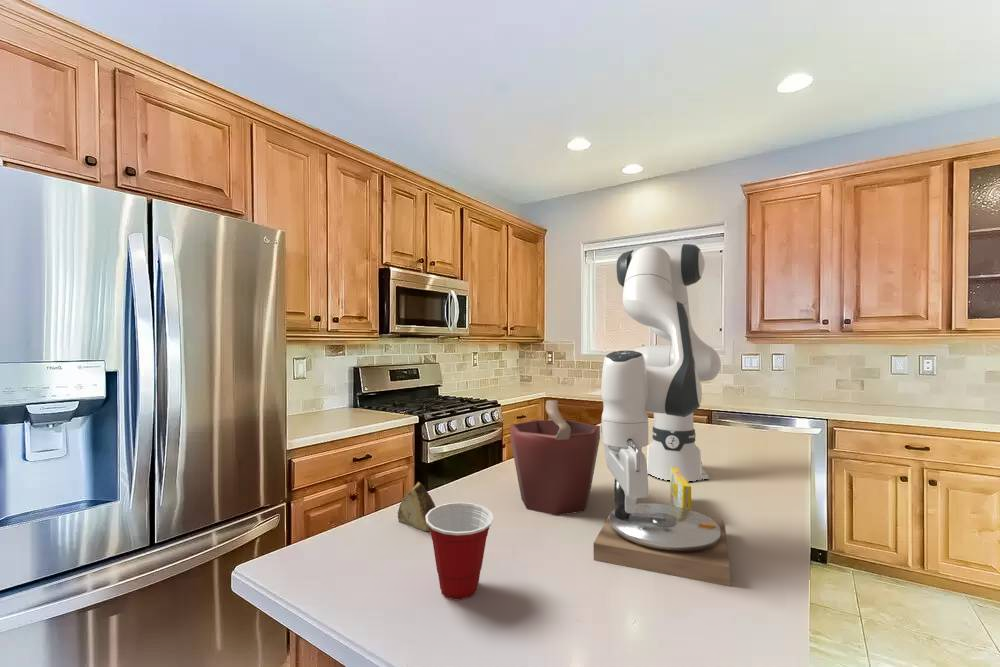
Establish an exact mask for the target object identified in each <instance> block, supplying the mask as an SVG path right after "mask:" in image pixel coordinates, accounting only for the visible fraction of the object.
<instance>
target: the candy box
mask: <svg viewBox="0 0 1000 667" xmlns="http://www.w3.org/2000/svg"><path fill="white" fill-rule="evenodd" d="M669 483H670V484H669V485H670V486H669V488H670V489H669V500H670V502H671V504H672V506H677V507H681V508H686V509H689V510H692V509H691V508H692V486H691V485H690V482H687V481H686V479H685V478H684V477H683V475H682V474H681V472H680V471H679V469H678V468H673V467H671V476H670V481H669Z"/></svg>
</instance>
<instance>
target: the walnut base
mask: <svg viewBox="0 0 1000 667" xmlns="http://www.w3.org/2000/svg"><path fill="white" fill-rule="evenodd" d="M613 510H615V505H614V506H613V508H612V510H611V511H610V513H609V514H608V517H607V519H606V520H605V522H604V523H603V526H602V527H601V529H600V531H599V533H598V534H597V536H596V538H595V540H594V542H593V561H598V562H604V563H609V564H614V565H619V566H624V567H627V568H628V567H629V568H634V569H640V570H644V571H650V572H654V573H659V574H665V575H671V576H675V577H681V578H686V579H689V580H695V581H702V582H707V583H712V584H717V585H722V586H728V587H731V569H730V560H729V557H730V556H729V551H728V550H729V549H728V541H727V532H726V525H725V519H720V518H714V517H710V518H711V519H712V520H714V521H715V522H716V523H717V524H718V525H719V527H720V540H719V542H718V543H717V544H715V545H714V546H712V547H709V548H705V549H700V550H692V551H675V550H665V549H658V548H653V547H649V546H645V545H641V544H638V543H635V542H632V541H630V540H628V539H625V538H623V537H622V536H620V535H618V534H617V533H616V532H615V531H614V530H613V529H612V528H611V526H610V514H611V512H612V511H613Z"/></svg>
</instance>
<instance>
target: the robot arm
mask: <svg viewBox="0 0 1000 667" xmlns="http://www.w3.org/2000/svg"><path fill="white" fill-rule="evenodd" d="M701 250H702V249H701V248H700V247H698V246H697V245H696V244H690V243H683V244H682V245H681V244H680V245H679V244H678V245H676V244H670V245H669V244H668V245H666V244H665V245H657V246H656V245H648V246H647V245H646V246H644V247H640V248H639V249H638V250H634V249H632V250H628V251H626V252H623V253H622V254H620V255H619V257H618V258H617V261H616V265H615V276H616V278H617V279H616V280H617V282H618V284H619V285H620V286H621V287H622V288H623V289H622V306H623V308H624V310H625V312H626V313H627V315H628V316H629V317H631V319H632V320H634V321H635V322H638V323H640V324H642V325H643V326H646V327H650V329H651V331H652V332H653V333H654V334H655V335H657V336H658V337H659V338H662V339H664V340H666V341H667V342H669V343H670V344H647V345H644V346H643V345H642V346H638V347H635V348H634V349H633V350H618V351H616V350H615V351H613V352H609V353H608V354H606V355H605V356H604V359H603V364H602V371H601V382H600V383H601V390H600V391H601V392H600V397H601V400H602V405H603V407H602V409H603V410H602V414H601V426H600V435H601V443H603V444H604V457H605V462H606V466H607V467H606V468H608V469H609V471H610V473H611V474H612V476H613V477H614V480H615V479H616V480H617V482H618V483H619V485H620V486H621V488H622V489H623V491H624V494H625V501H624V509H625V511H626V512H627V513H635V504H637V500H638V499H646V498H647V497H648V494H649V478H648V474H647V473H649V474H651V475H652V476H655V477H657V478H656V479H658V478H660V479H659V480H662V479H664V480H663V481H667V480H670V476H671V467H673V468H678V469H679V471H680V472H681V474H682V475H683V477H684V478H685V479H686V481H687V482H688V483H690V482H689V481H693V482H697V481H696V480H698V481H705V480H704V479H708V480H710V476H709V474H707V472H706V471H705V470H704V468H703V467H702V465H703V462H702V451H701V449H700V448H699V447H698V446H697V444H696V443H695V442H696V436H697V435H696V430H695V428H694V412H696V411H697V410H698V409H699V408H700V407H701V403H702V400H703V399H702V398H703V389H702V385H701V383H702V382H707V381H713V380H714V379H715V378H716V377H717V376H718V375H719V373H720V371H721V364H722V363H721V362H722V361H721V359H720V355H719V353H718V352H717V351H716V350H715V348H714V347H711V346H710V345H708V344H707V343H705V342H704V341H703V340H702V339H701V338H700V337H699V336H698V335H697V333H696V332H695V330H694V328H693V325H692V320H691V316H690V314H691V313H690V308H689V307H690V306H689V295H688V288H687V287H689V286H691V285H694V284H696V283H698V282H699V281H700V280H701V279H702V276H703V273H704V272H705V266H706V264H705V258H704V255H703V253H702V251H701ZM649 413H651V414H653V427H652V431H651V434H652V439H653V440H652V441H651V442H650V443H649V417H648V414H649ZM645 447H646V448H647V451H646V452H647V453H646V455H645V453H644V452H643V448H645ZM646 456H647V457H646ZM652 476H651V477H652ZM655 477H654V478H655ZM702 479H703V480H702Z"/></svg>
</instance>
